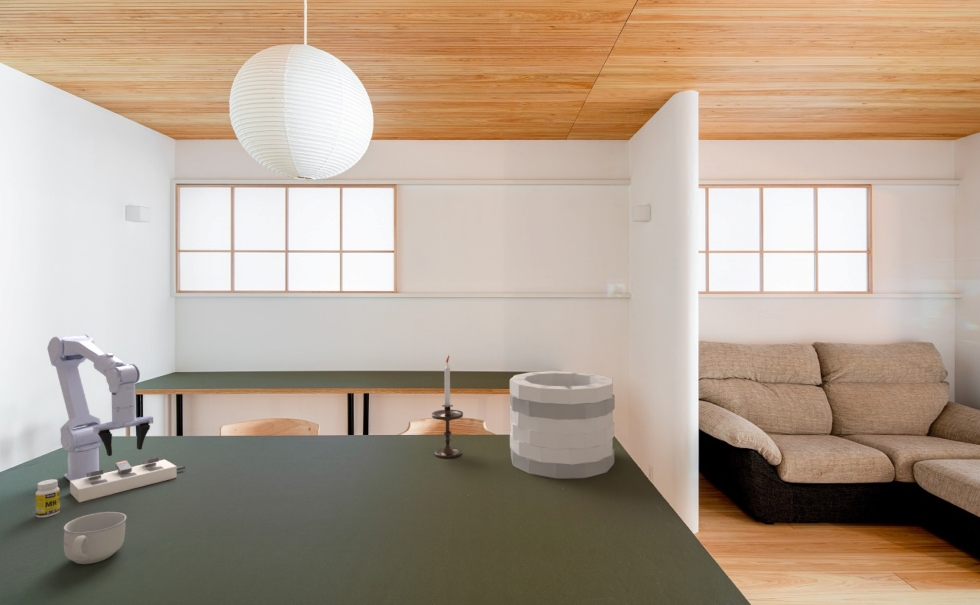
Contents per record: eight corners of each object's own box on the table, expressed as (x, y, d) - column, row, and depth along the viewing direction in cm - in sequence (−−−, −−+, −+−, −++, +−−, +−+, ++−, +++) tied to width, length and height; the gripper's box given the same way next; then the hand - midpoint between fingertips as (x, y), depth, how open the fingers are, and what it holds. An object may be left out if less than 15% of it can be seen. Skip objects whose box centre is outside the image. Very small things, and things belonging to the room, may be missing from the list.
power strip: (70, 493, 147) (69, 478, 146) (178, 466, 168) (178, 454, 168) (79, 502, 140) (78, 487, 140) (190, 473, 162) (190, 460, 162)
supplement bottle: (45, 519, 130) (44, 486, 130) (30, 517, 131) (30, 484, 131) (64, 510, 135) (64, 479, 135) (50, 509, 136) (49, 477, 135)
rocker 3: (142, 464, 159) (142, 460, 159) (153, 462, 161) (152, 458, 162) (148, 463, 156) (147, 459, 156) (158, 461, 158) (158, 457, 158)
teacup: (87, 545, 116) (86, 510, 116) (137, 543, 117) (137, 508, 117) (38, 580, 103) (37, 540, 102) (96, 577, 103) (95, 538, 103)
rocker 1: (86, 477, 148) (86, 472, 149) (98, 474, 151) (98, 470, 151) (91, 476, 145) (90, 472, 146) (103, 474, 147) (102, 469, 148)
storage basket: (506, 445, 190) (505, 371, 190) (599, 443, 192) (599, 370, 191) (514, 480, 155) (514, 389, 155) (628, 478, 157) (628, 388, 156)
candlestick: (469, 452, 182) (468, 353, 181) (450, 461, 173) (450, 357, 172) (444, 447, 188) (444, 351, 187) (425, 455, 178) (425, 355, 178)
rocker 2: (115, 466, 154) (115, 462, 154) (126, 463, 156) (126, 460, 156) (120, 474, 151) (120, 470, 151) (131, 471, 153) (131, 467, 153)
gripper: (97, 412, 144) (98, 461, 144) (156, 404, 155) (157, 448, 155) (90, 409, 148) (91, 455, 149) (148, 400, 159) (149, 444, 160)
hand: (124, 452), depth 152 cm, fingers open, 7 cm apart
